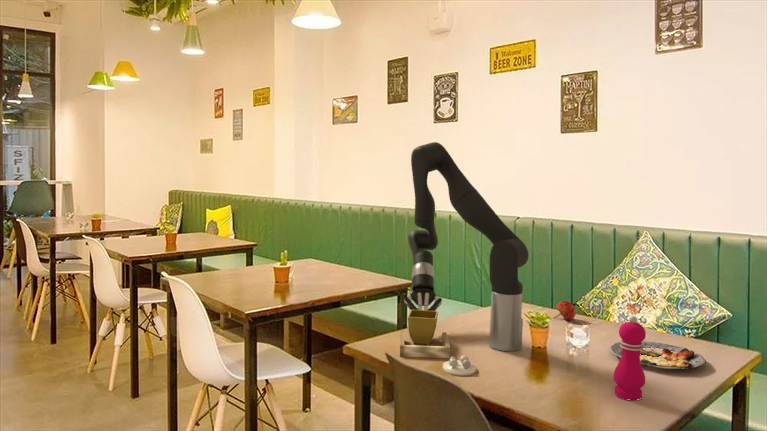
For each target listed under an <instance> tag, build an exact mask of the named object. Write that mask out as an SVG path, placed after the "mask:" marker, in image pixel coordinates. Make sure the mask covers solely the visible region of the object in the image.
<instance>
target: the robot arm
mask: <svg viewBox="0 0 767 431" xmlns="http://www.w3.org/2000/svg"><path fill="white" fill-rule="evenodd" d="M410 163H411V173H412V183H413V189H414V218H413V219H414V224H415V226H416V227H418V228H421V229H422V230H421V229H414V230H411V231H410V232H409V234H408V236H407V237H408V239H407V242H408V246H409V248H410V252H411V254H412V270H411V271H412V272H411V292H410V293H409V295H408V296H405V297H404V299H403V302H404V304H405V305H406V307H407V308H408V309H409V310H426V311H437V310H438V308H439V307H440V306H441V305H442V302H443V298H441V297H437V294H436V292H435V270H434V256H433V253H432V252H431V251H433V250H435V249H437V246H438V244H439V239H438V234H437V231H436V230H437V229H436V224H435V217H436V216H435V215H436V203H435V199H434V197H433V195H432V192H431V190H430V189H429V185H428V176H429V173H431V172H434V171H437V172H439V174H440V175H441V176H442V177H443V179H444V180H445V181H446V184H447V189H448V197H449V198H448V199H449V201H450V204H451V206H452V207H453V209H454V210H455V211H456V212H457V214H458V215H459V216H460V218H461V219H462V220H463V221H464V222H465V223H467V224H468V225H470V226H471V227H473V228H474V229H475V230H477V231H478V232H479V233H481V234H482V235H483V236H485V237H486V238H487V239H488V240H489V241H490V242H491V244H492V247H491V249H490V252H489V282H490V285H491V294H490V295H491V297H490V298H491V300H490V301H491V302H490V320H489V321H490V323H489V338H488V339H489V347H490V348H492V349H494V350H497V351H503V352H504V351H505V352H513V351H519V350H521V351H522V349H523V348H522V345H523V343H522V342H523V324H524V320H523V317H522V312H523V311H522V310H523V289H524V287H523V286H524V285H523V283H522V282H521V281H519V268H521V267H523V266H525V265H526V264H527V262H528V260H529V256H530V255H529V250H528V248H527V246H526V244H525V243H524V242H523V240H522V239H520V237H519V236H518V235H516V233H514V232H513V231H512V230H511V228H509V227H508V226H507V225H506V224H505V223H504V222H503V221H502V219H501V218H500V217H499V216H498V214H497V213H496V212H495V211H494V209H493V208H492V207H491V205H489V203H488V202H487V201H486V199H484V197H483V196H482V195H481V194H480V192H479V191H478V190H477V189H476V188H475V186H474V185H473V184H472V183H471V182H470V181H469V179H468V178H467V177H466V176H465V175H464V173H463V172H462V171H461V169H460V168H459V167H458V165H457V163H456V161H454V159H453V158H452V156H451V155H450V153H449V152H448V150H447V149H446V148H445V146H444V145H443V144H442V143H440V142H436V141H434V142H428V143H425V144H421V145H418V146H416V147H414V148H413V150H412V151H411V156H410ZM412 301H413V302H412ZM433 302H434V303H433ZM432 303H433V304H432ZM431 304H432V305H431ZM430 305H431V306H430ZM429 306H430V307H429Z"/></svg>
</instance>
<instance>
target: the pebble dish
mask: <svg viewBox="0 0 767 431" xmlns="http://www.w3.org/2000/svg"><path fill="white" fill-rule="evenodd" d="M442 371H443V372H445V373H446V374H449V375H452V376H453V375H454V376H461V377H462V376H463V377H464V376H470V375H474V374H475V373H477V365H476V364H474V363H473V362H471V361H470V360H469V356H468V355H465V354H463V355H461V356H460V358H459V359H457V357H455V356H453V355H452V356H450V358H449V360H448V361H445V362H443V364H442Z"/></svg>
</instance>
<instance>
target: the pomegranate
mask: <svg viewBox="0 0 767 431" xmlns="http://www.w3.org/2000/svg"><path fill="white" fill-rule="evenodd" d="M576 305H577V306H578V303H577V302H575V303H572V302H571V301H568V300H566V299H565V300H560V301H559V302H558V303H557V304H556V306H555V308H556V309H557V310H558V311H559V314H557V315H556V316H554V317H553V319H556V318H557V317H559V316H562V317H563V319H564V320H565V321H571V320H573V319H574V318H575V317H576V314H577V310H576V307H575V306H576Z"/></svg>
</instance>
